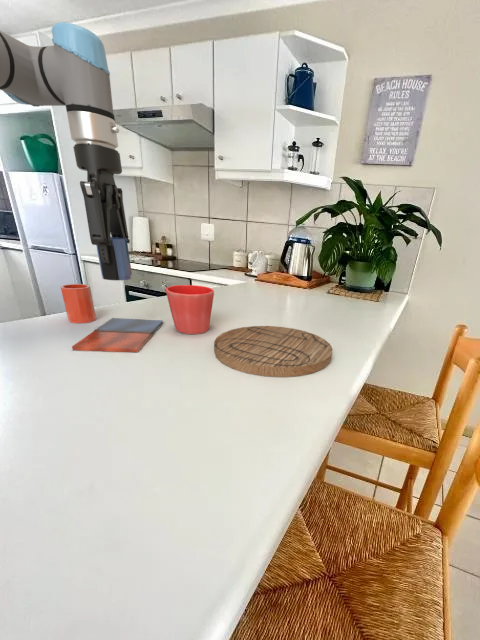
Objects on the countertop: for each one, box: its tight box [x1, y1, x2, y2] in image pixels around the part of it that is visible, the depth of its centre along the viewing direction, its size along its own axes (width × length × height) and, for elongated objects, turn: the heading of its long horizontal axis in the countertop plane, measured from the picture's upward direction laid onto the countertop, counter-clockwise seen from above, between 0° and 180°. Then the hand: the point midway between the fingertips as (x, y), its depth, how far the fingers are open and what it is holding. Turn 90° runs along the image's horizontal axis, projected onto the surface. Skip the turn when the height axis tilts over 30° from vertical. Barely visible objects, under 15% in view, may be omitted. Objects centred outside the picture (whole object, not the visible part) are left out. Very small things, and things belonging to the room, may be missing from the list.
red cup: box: [60, 283, 97, 324], centre depth 77 cm, size 6×6×8 cm
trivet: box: [213, 325, 334, 378], centre depth 69 cm, size 25×25×2 cm
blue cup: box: [95, 236, 133, 281], centre depth 68 cm, size 6×6×8 cm
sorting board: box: [71, 317, 164, 353], centre depth 71 cm, size 12×20×1 cm, turn 5°
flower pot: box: [165, 284, 215, 335], centre depth 76 cm, size 11×11×10 cm
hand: (117, 276), depth 70 cm, fingers closed on blue cup, 6 cm apart
